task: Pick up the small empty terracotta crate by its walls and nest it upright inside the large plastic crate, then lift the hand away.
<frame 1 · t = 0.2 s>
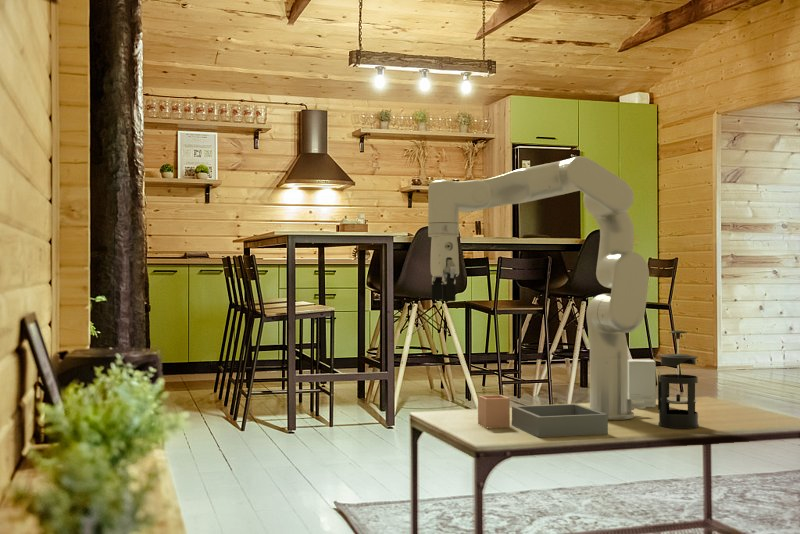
hand: (443, 300, 218), 30 cm above the table, tool pointing down, fingers open, 9 cm apart
small crate: (493, 425, 216), on the table
large crate: (558, 429, 210), on the table
french press: (677, 426, 215), on the table
supplement box: (641, 406, 248), on the table
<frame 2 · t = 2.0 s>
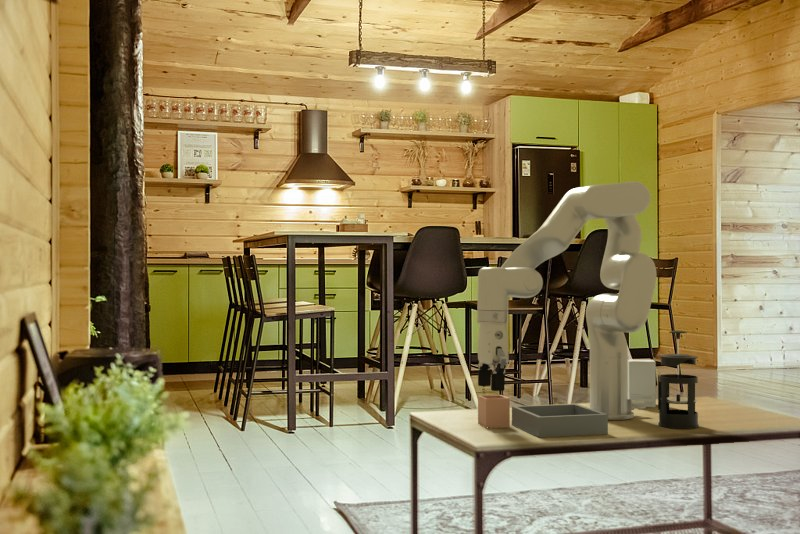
hand: (490, 388, 215), 9 cm above the table, tool pointing down, fingers open, 9 cm apart
nothing on the table moved.
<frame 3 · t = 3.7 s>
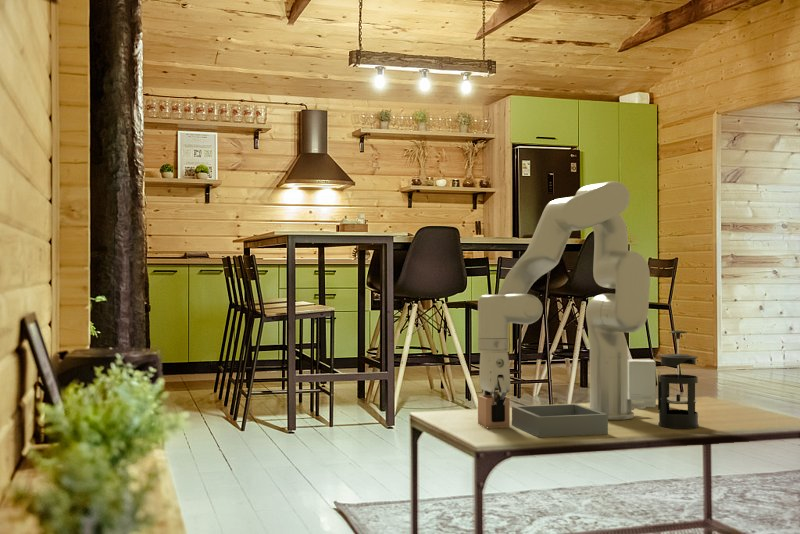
hand: (493, 418, 216), 2 cm above the table, tool pointing down, fingers closed on small crate, 6 cm apart
small crate: (493, 425, 216), on the table, touching gripper
everything else where it was.
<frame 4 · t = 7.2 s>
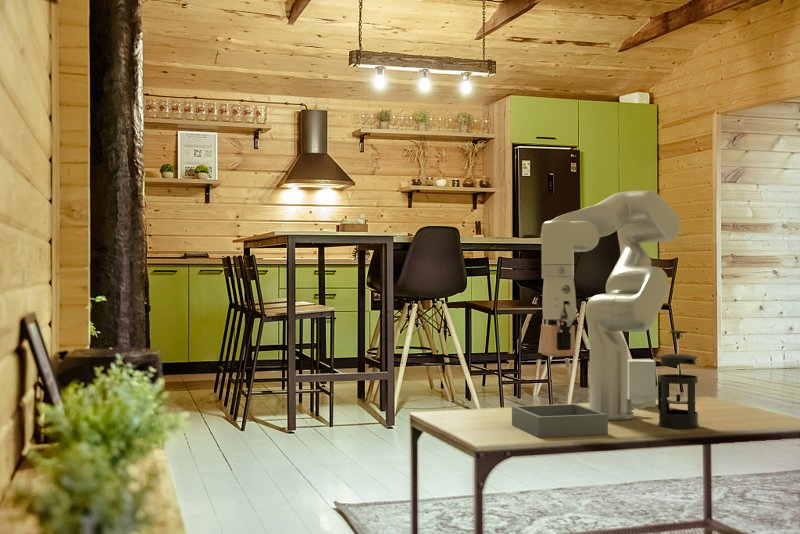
hand: (558, 347, 210), 19 cm above the table, tool pointing down, fingers closed on small crate, 6 cm apart
small crate: (557, 354, 210), point 18 cm above the table, touching gripper
everything else where it was.
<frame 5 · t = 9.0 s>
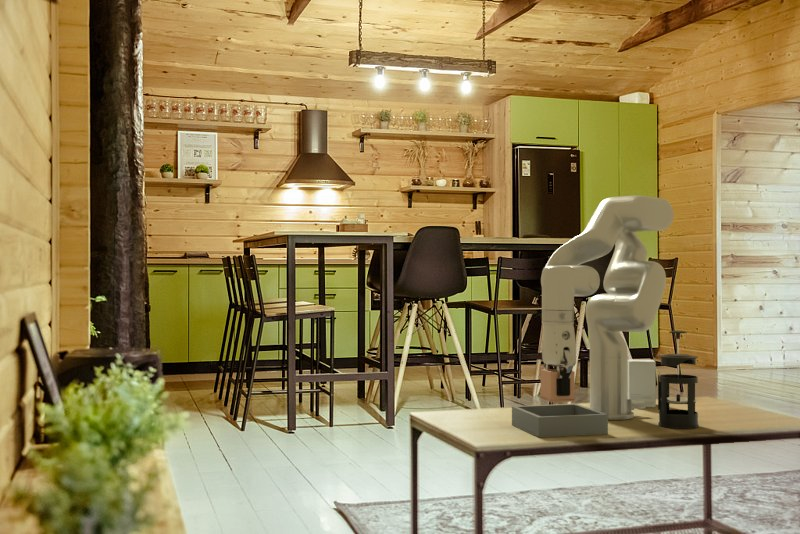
hand: (557, 393, 210), 9 cm above the table, tool pointing down, fingers closed on small crate, 6 cm apart
small crate: (557, 400, 210), point 7 cm above the table, touching gripper
everything else where it was.
when the fingers open (5 cm above the table, at t = 10.7 s): small crate drops 2 cm, resting on large crate.
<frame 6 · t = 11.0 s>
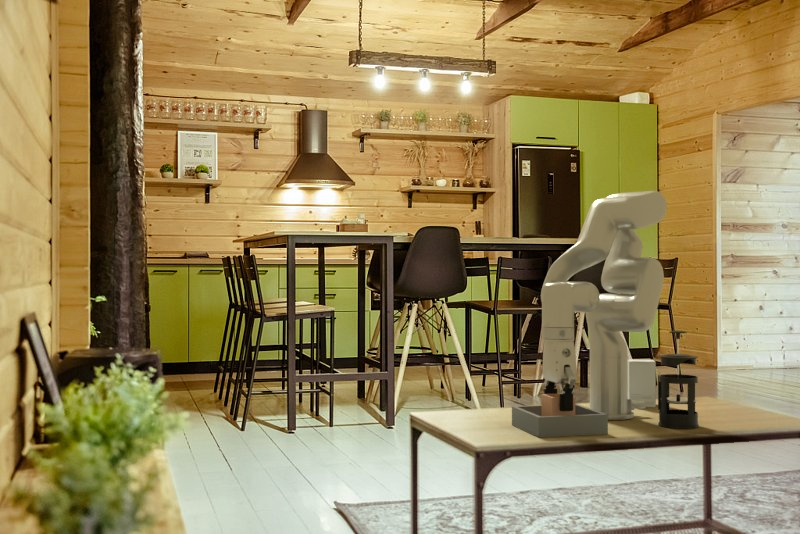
hand: (558, 407, 210), 5 cm above the table, tool pointing down, fingers open, 8 cm apart
small crate: (558, 425, 210), point 1 cm above the table, touching large crate
everything else where it was.
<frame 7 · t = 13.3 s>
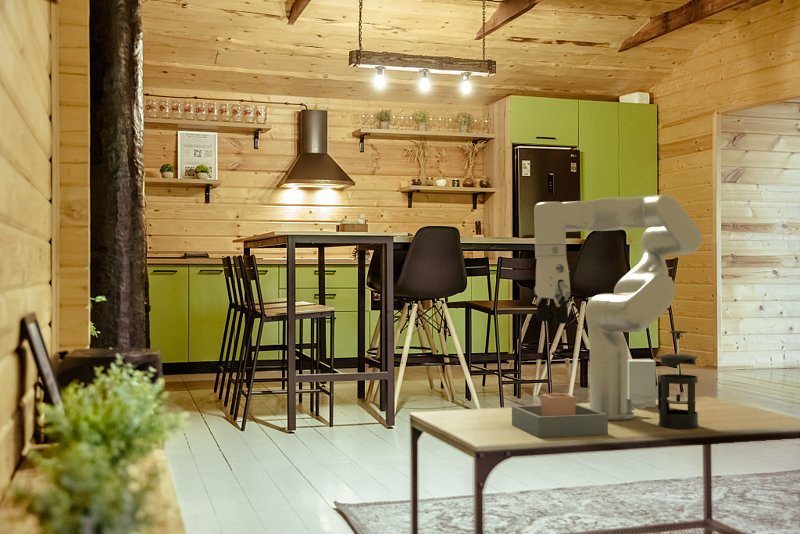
hand: (552, 322, 217), 25 cm above the table, tool pointing down, fingers open, 9 cm apart
nothing on the table moved.
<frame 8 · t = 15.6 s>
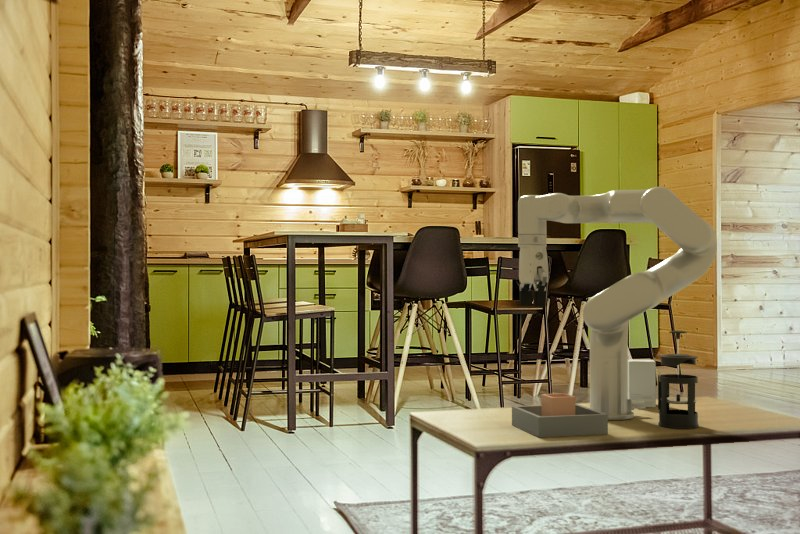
hand: (532, 305, 236), 28 cm above the table, tool pointing down, fingers open, 9 cm apart
nothing on the table moved.
at the end: small crate inside the target area on the large crate (0.1 cm from its centre), point 1.0 cm above the large crate's base; small crate tilted 0°; the gripper is holding nothing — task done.
